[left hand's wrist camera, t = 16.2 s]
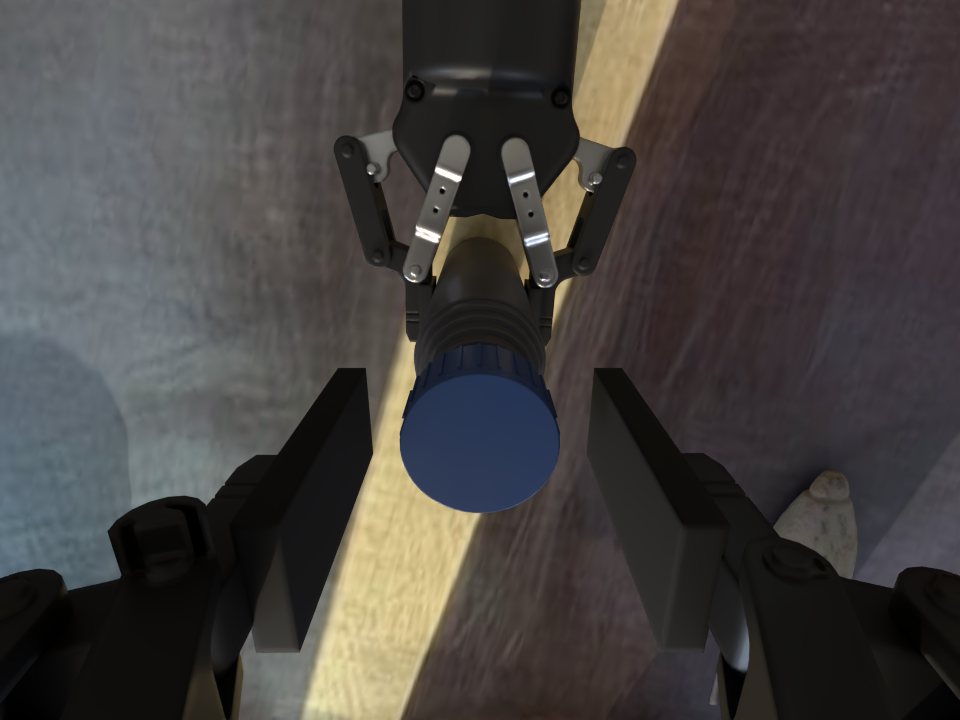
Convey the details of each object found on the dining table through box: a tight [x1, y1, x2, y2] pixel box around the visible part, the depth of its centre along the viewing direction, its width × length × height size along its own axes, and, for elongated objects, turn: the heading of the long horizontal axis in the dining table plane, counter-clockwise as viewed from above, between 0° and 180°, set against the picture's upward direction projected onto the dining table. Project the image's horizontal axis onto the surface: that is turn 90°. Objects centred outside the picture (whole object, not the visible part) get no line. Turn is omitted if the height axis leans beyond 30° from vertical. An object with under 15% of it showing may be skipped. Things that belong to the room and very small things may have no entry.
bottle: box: [414, 238, 546, 377], centre depth 23 cm, size 5×5×20 cm
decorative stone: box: [773, 470, 858, 579], centre depth 38 cm, size 6×16×3 cm, turn 179°
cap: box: [400, 343, 560, 513], centre depth 14 cm, size 4×4×2 cm
